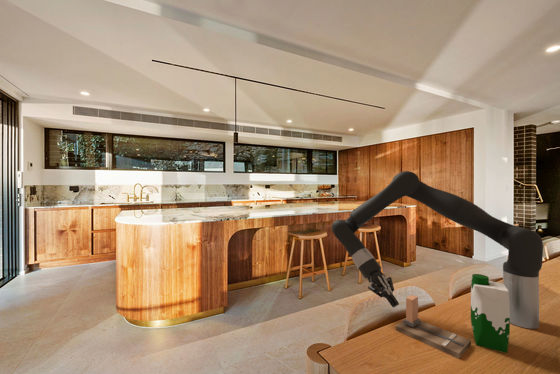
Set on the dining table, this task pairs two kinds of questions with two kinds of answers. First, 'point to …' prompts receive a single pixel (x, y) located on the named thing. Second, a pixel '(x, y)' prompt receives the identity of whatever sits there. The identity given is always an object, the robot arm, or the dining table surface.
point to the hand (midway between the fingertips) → (396, 305)
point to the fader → (412, 311)
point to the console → (436, 338)
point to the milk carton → (490, 313)
